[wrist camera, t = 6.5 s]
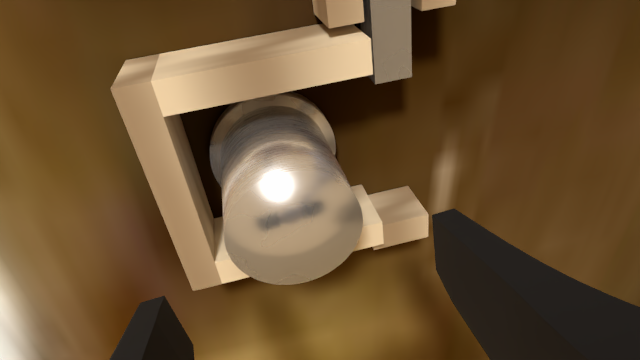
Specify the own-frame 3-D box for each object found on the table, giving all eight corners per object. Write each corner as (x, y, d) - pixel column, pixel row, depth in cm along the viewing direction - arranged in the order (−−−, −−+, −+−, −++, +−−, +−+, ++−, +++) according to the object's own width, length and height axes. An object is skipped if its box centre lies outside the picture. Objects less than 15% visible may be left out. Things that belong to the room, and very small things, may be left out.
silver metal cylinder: (340, 93, 18) (390, 162, 13) (321, 199, 21) (358, 290, 16) (211, 83, 17) (212, 156, 12) (208, 198, 19) (208, 297, 14)
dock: (426, -135, 15) (471, -144, 12) (425, 202, 22) (452, 240, 20) (72, -82, 13) (42, -79, 11) (199, 257, 21) (198, 304, 19)
